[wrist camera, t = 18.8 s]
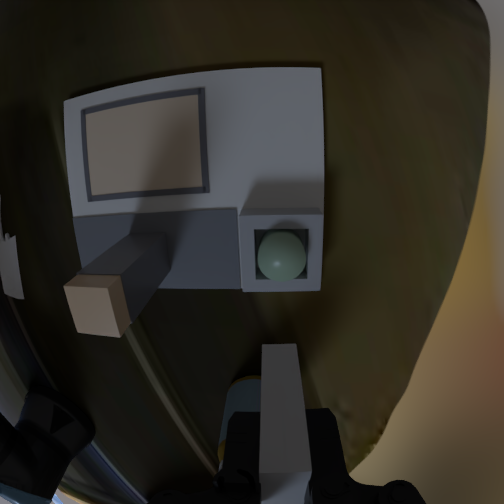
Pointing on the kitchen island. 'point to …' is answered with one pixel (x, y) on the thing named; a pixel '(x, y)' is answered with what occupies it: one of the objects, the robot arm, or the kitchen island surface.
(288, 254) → the button
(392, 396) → the kitchen island surface
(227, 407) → the bottle
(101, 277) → the two-tone square rod
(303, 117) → the board
